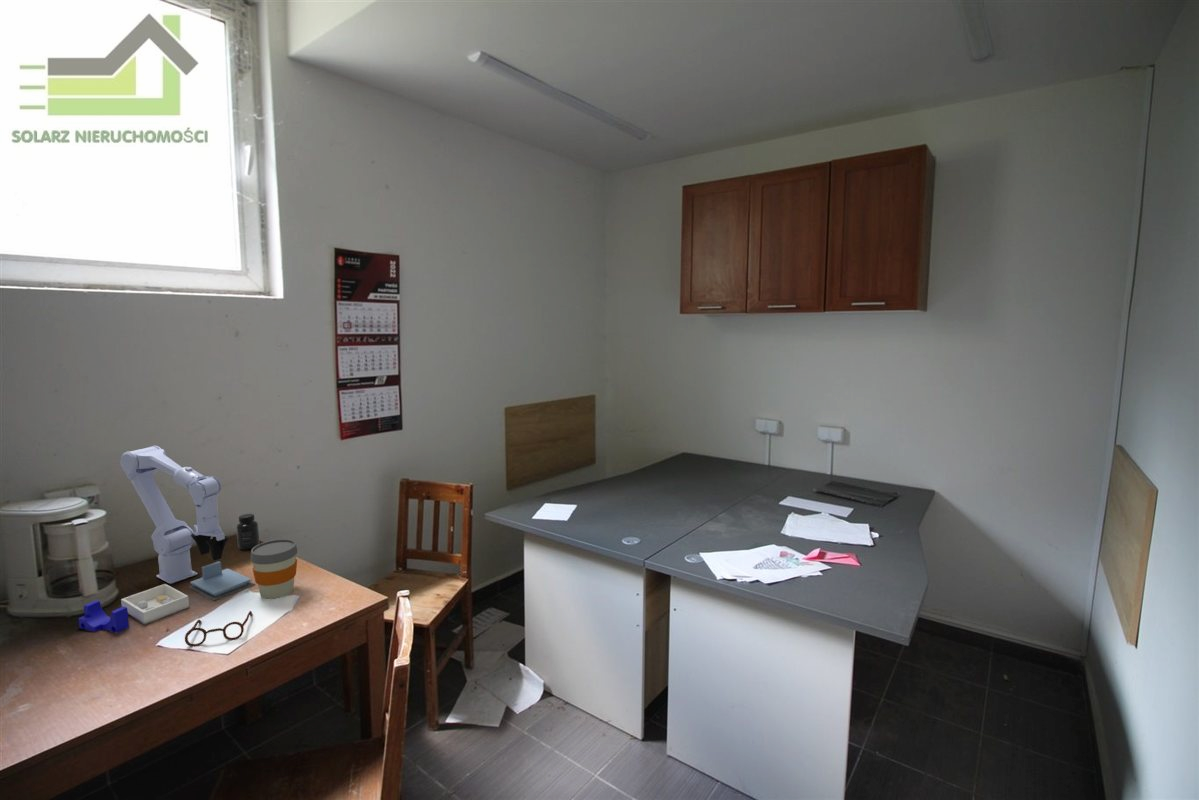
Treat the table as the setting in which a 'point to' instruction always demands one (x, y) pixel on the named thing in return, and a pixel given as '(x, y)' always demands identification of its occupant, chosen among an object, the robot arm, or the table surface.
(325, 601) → the table surface
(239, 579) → the lid
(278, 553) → the reusable coffee cup
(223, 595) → the mat
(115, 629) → the cable clip
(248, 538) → the supplement bottle
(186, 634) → the glasses
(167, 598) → the tub
